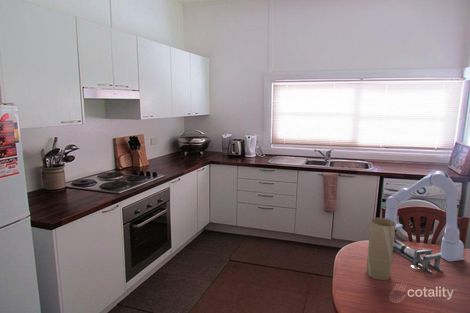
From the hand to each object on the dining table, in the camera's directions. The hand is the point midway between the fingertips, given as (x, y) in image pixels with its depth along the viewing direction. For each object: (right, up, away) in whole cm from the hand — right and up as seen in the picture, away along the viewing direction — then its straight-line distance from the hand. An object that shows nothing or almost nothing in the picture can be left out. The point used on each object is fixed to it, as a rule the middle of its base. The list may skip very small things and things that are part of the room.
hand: (388, 241), depth 176 cm
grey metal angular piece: (+3, -4, -18) cm, 19 cm away
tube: (-19, -7, -31) cm, 37 cm away
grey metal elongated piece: (+3, -3, -11) cm, 12 cm away
